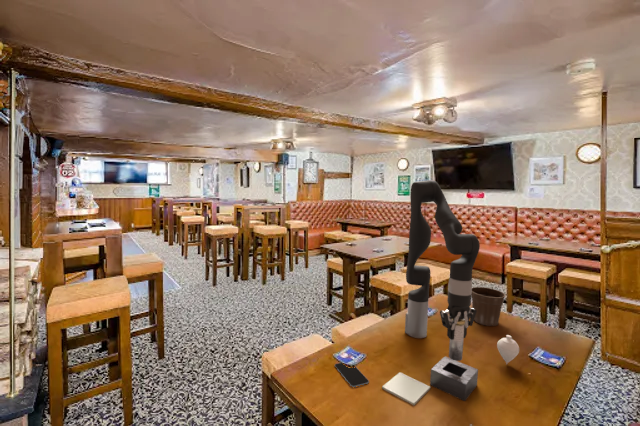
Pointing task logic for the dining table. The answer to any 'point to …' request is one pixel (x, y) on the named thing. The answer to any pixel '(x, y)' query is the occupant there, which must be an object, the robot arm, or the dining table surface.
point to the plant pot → (487, 305)
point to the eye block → (454, 378)
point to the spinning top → (508, 348)
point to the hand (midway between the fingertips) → (456, 337)
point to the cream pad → (406, 388)
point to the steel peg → (457, 341)
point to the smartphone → (352, 375)
